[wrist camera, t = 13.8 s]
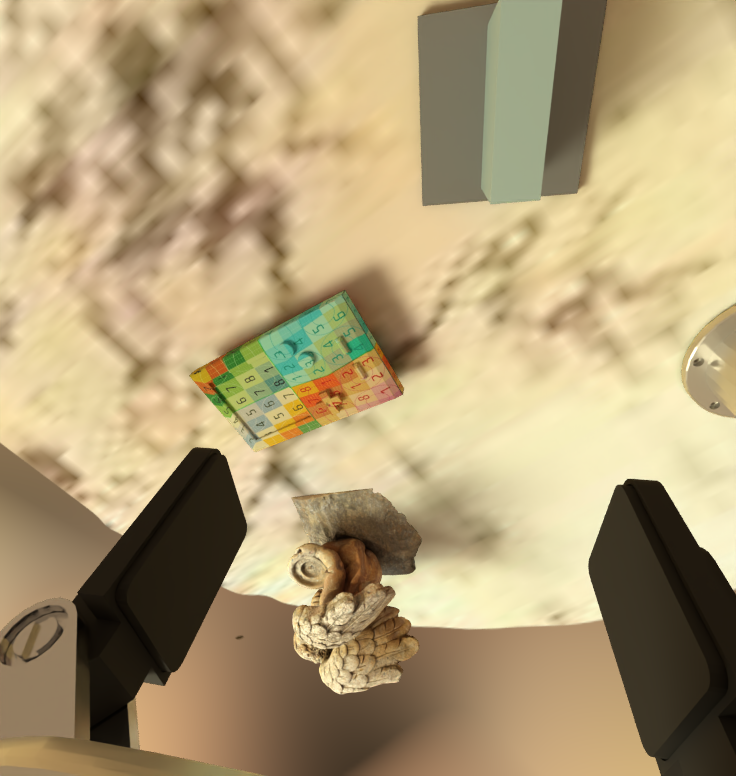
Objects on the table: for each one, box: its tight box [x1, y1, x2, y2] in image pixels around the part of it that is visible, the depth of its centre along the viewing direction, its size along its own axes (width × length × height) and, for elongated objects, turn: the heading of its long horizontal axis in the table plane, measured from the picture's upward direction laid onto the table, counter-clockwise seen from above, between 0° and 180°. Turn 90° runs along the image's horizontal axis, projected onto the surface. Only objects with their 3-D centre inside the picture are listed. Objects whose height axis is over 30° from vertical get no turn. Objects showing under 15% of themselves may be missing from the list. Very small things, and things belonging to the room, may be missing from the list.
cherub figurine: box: [287, 489, 421, 694], centre depth 52 cm, size 18×18×18 cm
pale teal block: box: [481, 0, 562, 204], centre depth 27 cm, size 3×10×8 cm, turn 6°
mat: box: [418, 0, 607, 206], centre depth 30 cm, size 12×12×1 cm
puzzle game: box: [190, 290, 404, 452], centre depth 44 cm, size 12×5×20 cm
